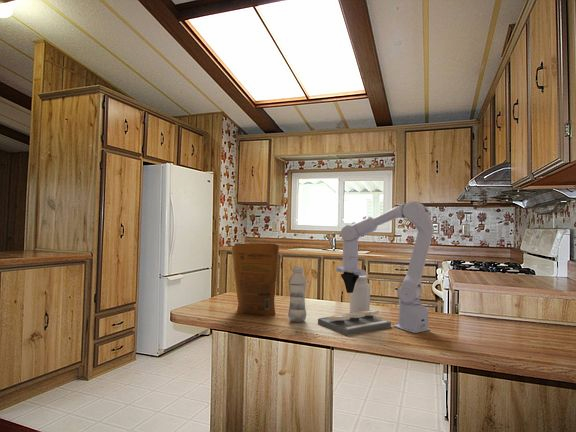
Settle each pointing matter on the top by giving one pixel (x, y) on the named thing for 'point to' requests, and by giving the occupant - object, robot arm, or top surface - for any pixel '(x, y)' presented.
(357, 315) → the paddle middle
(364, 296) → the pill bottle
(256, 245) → the pancake mix bag
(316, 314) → the top surface
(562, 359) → the top surface
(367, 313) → the paddle
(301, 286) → the plastic bottle
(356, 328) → the panel
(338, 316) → the paddle
